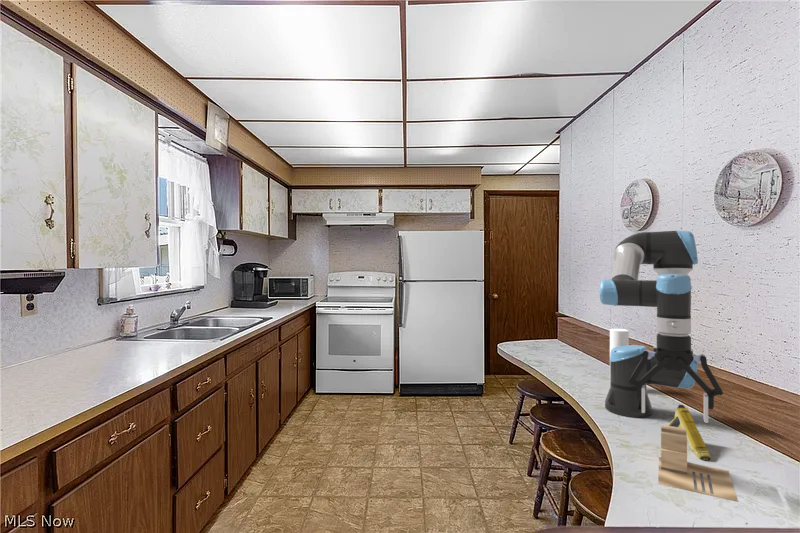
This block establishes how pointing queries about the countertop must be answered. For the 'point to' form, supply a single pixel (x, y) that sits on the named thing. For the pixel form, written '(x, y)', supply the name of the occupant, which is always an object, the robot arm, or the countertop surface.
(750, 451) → the countertop surface
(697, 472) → the board
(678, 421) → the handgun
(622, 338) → the cylindrical container
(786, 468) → the countertop surface
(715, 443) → the countertop surface
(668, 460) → the block
